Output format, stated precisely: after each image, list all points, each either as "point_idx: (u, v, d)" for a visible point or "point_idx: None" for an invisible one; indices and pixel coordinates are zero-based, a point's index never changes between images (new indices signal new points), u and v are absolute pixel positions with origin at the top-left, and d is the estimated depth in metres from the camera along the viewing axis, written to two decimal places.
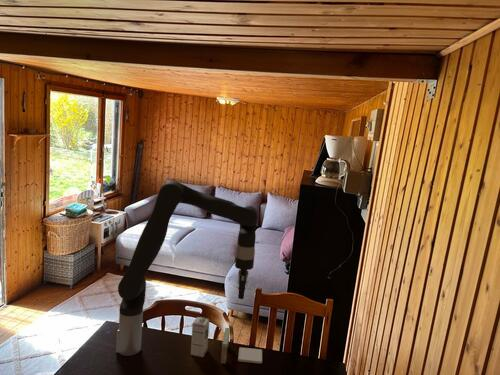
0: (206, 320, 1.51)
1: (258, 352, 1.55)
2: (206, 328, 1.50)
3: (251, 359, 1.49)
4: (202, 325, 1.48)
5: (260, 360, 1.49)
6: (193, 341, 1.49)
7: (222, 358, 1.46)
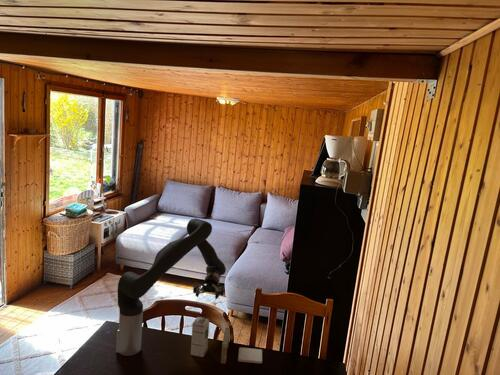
0: (206, 320, 1.51)
1: (258, 352, 1.55)
2: (206, 328, 1.50)
3: (251, 359, 1.49)
4: (202, 325, 1.48)
5: (260, 360, 1.49)
6: (193, 341, 1.49)
7: (222, 358, 1.46)
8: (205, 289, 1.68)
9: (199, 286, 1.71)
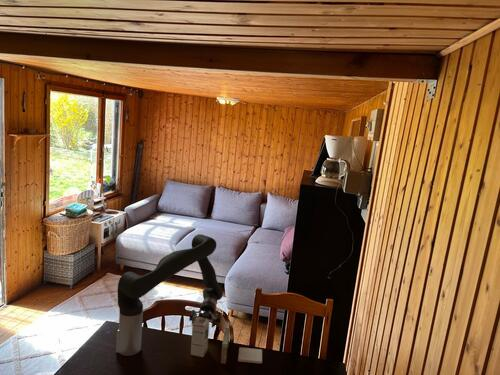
0: (206, 320, 1.51)
1: (258, 352, 1.55)
2: (206, 328, 1.50)
3: (251, 359, 1.49)
4: (202, 325, 1.48)
5: (260, 360, 1.49)
6: (193, 341, 1.49)
7: (222, 358, 1.46)
8: None
9: (195, 313, 1.68)
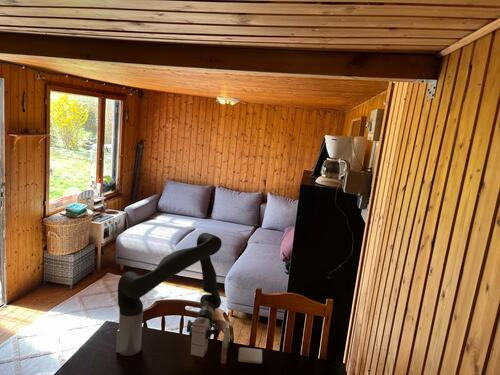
0: (206, 320, 1.51)
1: (258, 352, 1.55)
2: (206, 328, 1.50)
3: (251, 359, 1.49)
4: (202, 325, 1.48)
5: (260, 360, 1.49)
6: (193, 341, 1.49)
7: (222, 358, 1.46)
8: None
9: (192, 323, 1.58)
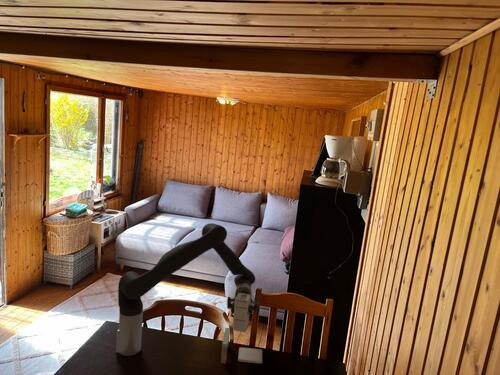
0: (248, 295, 1.50)
1: (258, 352, 1.55)
2: (248, 303, 1.48)
3: (251, 359, 1.49)
4: (245, 300, 1.46)
5: (260, 360, 1.49)
6: (235, 316, 1.48)
7: (222, 358, 1.46)
8: None
9: (232, 300, 1.57)
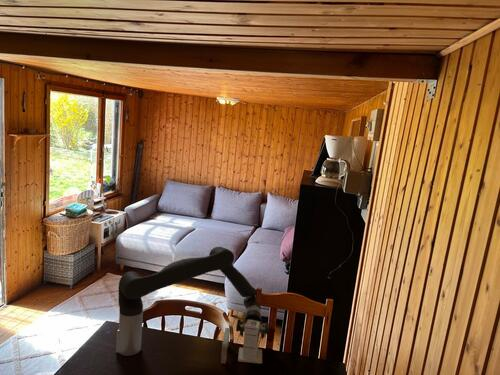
0: (257, 322, 1.51)
1: (258, 352, 1.55)
2: (258, 331, 1.49)
3: (251, 359, 1.49)
4: (255, 328, 1.47)
5: (260, 360, 1.49)
6: (245, 344, 1.49)
7: (222, 358, 1.46)
8: None
9: (241, 323, 1.58)
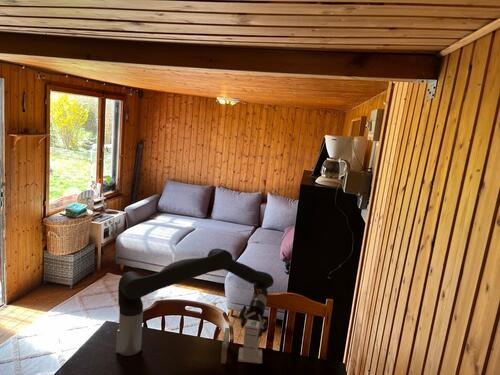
0: (257, 323, 1.51)
1: (258, 352, 1.55)
2: (258, 331, 1.49)
3: (251, 359, 1.49)
4: (255, 328, 1.47)
5: (260, 360, 1.49)
6: (245, 344, 1.49)
7: (222, 358, 1.46)
8: (251, 318, 1.64)
9: (246, 310, 1.66)
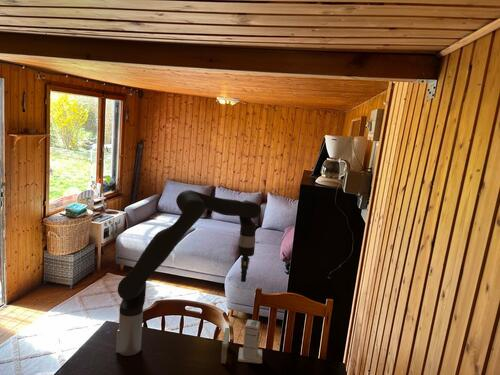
0: (257, 323, 1.51)
1: (258, 352, 1.55)
2: (258, 331, 1.49)
3: (251, 359, 1.49)
4: (255, 328, 1.47)
5: (260, 360, 1.49)
6: (245, 344, 1.49)
7: (222, 358, 1.46)
8: None
9: None
